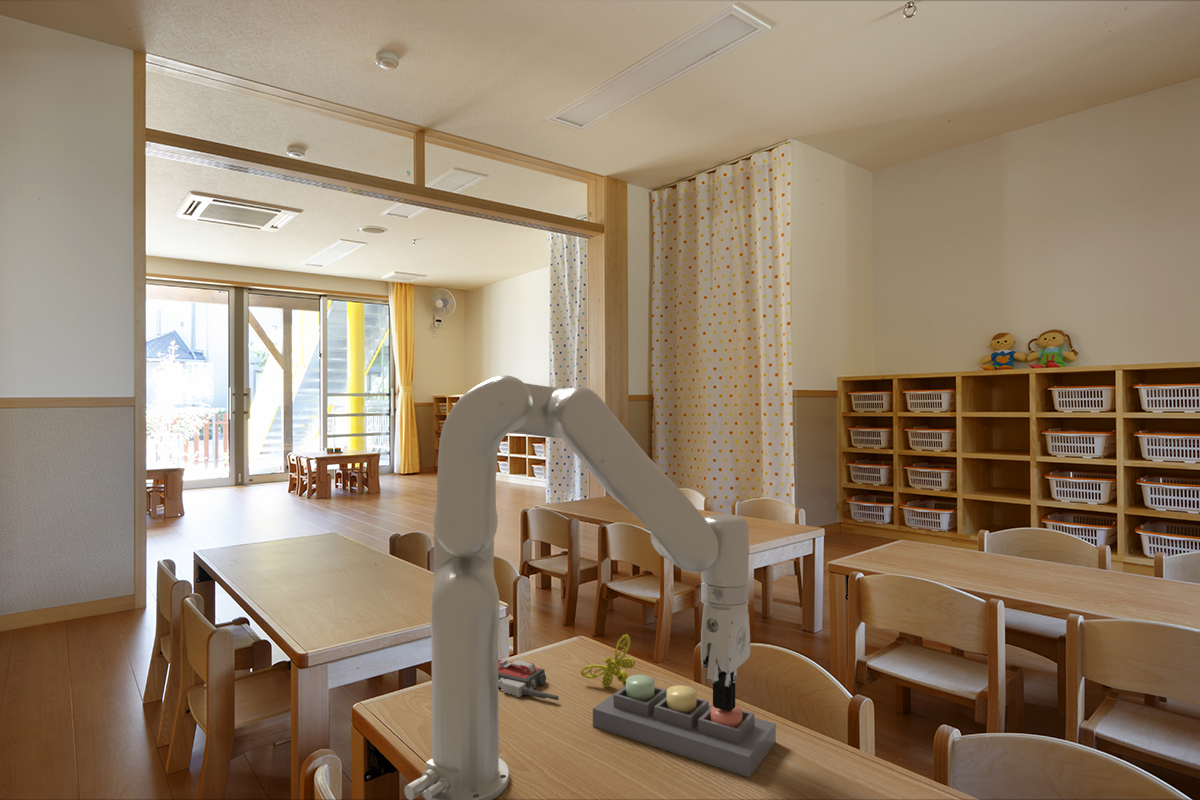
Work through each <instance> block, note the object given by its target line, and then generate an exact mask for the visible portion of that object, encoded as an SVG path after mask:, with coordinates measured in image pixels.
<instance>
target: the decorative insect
mask: <svg viewBox="0 0 1200 800" xmlns="http://www.w3.org/2000/svg"><path fill="white" fill-rule="evenodd" d="M623 639H624V641H623ZM621 641H623V642H622V643H621ZM625 643H627V645H626V646H625V645H624V644H625ZM630 645H631V637H630V636H629V634H623V635H622V636H621V637H620V638H619V639H618V640H617V644H616V645H615V650H614V659H612V657H611V656H608V657H606V658H605V659H604V663H605V664H606V665H603V664H594V663H593V664H589V665H586V666H584V667H583V668H582V669H581V670H580V675H581V676H582V678H586V679H596V678H598V677H600V676H602V675H603V677H602V681H601V683H602V687H605V688H607V689H608V688H609V687H611V685H612V683H613V678H614V676H615V677H616V679H617V681H618V682H619V683H620V682H621V683H622V685H623V687H624V686H626V679H627V678H628V677H630V676H631V675H628V673H627V671H626V670H628V669H633V668H635V665H636V661H635V660H634V658H631V657H625V656H626V655H627V653H628V651H629V649H630ZM619 647H622V648H623V649H621V650H619V652H618V649H619ZM621 653H623V654H622V655H621ZM620 655H621V656H620ZM619 656H620V657H619ZM593 669H596V670H595V671H594V673H592V670H593ZM621 669H622V670H621ZM625 669H626V670H625ZM585 671H586V672H585ZM600 671H601V672H600ZM598 672H600V673H598ZM588 674H590V675H588Z"/></svg>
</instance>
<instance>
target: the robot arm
mask: <svg viewBox="0 0 1200 800" xmlns="http://www.w3.org/2000/svg"><path fill="white" fill-rule="evenodd" d="M509 433H513V434H521V435H526V436H527V435H528V436H536V437H542V438H543V437H544V438H556V439H562V440H563V441H564V442H565V444H567V446H568V447H569V448H570V450H571V451H572V452H573V453H574V454H575V456H576V457H577V458H578V459H579V460H580V461H581V463H582V464H583V465H584V466H585V467H586V468H587V470H588V471H589V472H590V474H591V475H592V476H593V477H594V479H596V481H597V482H598V484H599V485H600V486H601V488H603V489H604V491H606V493H608V495H610V496H611V497H612V498H613V499H614V500H615V501H616V502H617V503H619V504H620V505H622V506H623V507H624V508H625V509H627V510H628V511H629V512H630V513H632V515H634V516H635V517H636V518H637V519H638V520H639V521H640V522H641V523H642V524H643V525H644V526H645V527H646V529H648V531H649V532H650V541H651V545H652V547H653V549H654V550H655V551H656V552H657V553H658V554H659V555H660V556H661V557H663V558H664V559H666V560H667V561H669V562H671V563H672V564H673V565H675V566H676V567H678V568H679V569H681V570H683V571H684V572H688V573H692V574H693V573H700V574H701V575H700V602H701V603H702V604H703V607H702V609H703V610H702V617H701V619H702V620H701V630H700V663H701V666H702V668H705V669H707V673H706V674H707V675H706V680H707V681H708V680H709V681H711V684H712V706H714V707H715V708H718V709H722V710H725V711H729V712H731V711H732V710H733V709H734V708H735V705H736V682H737V675H738V674H737V673H738V671H737V669H738V668H739V667H740V666H741V665H743V664H744V663H745V662H746V661H747V660H748V659H749V657H750V656H751V631H750V630H751V629H750V627H751V626H750V613H749V612H750V611H749V606H748V605H749V583H750V582H749V575H750V574H749V573H750V572H749V570H750V569H749V566H750V565H749V562H750V561H749V560H750V559H749V558H750V557H749V553H750V550H749V549H750V542H749V541H750V528H749V523H748V521H747V520H746V518H744V517H741V516H740V515H735V514H726V513H725V514H723V513H720V514H710V515H702V514H701V513H700V512H699V510H698V509H697V508H696V506H695V505H694V504H693V503H692V502H691V500H690V499H689V498H688V497H687V495H685V493H684V492H683V491H682V490H681V489H680V488H679V487H678V486H677V485H676V484H675V483H674V482H673V481H672V480H671V478H669V477H668V475H666V474H665V473H664V472H663V470H662V469H661V468H660V467H659V466H658V465H657V463H656V462H654V461H653V460H652V459H651V458H650V457H649V456H648V454H647V453H646V452H645V451H644V450H643V449H642V448H641V446H640V445H639V444H638V442H637V441H636V440H635V439H634V438H633V436H632V435H631V434H630V433H629V432H628V430H627V429H626V428H625V426H624V425H623V424H622V423H621V422H620V420H619V419H618V418H617V416H616V415H615V414H614V413H613V412H612V410H611V409H610V407H608V405H607V404H606V402H605V401H604V400H603V399H602V398H601V397H600V396H599V395H598V394H597V393H596V392H595V391H593V390H592V389H590V388H588V387H584V386H572V387H555V386H546V385H540V384H535V383H534V384H532V383H526V382H523V380H520V379H519V378H518V377H515V376H511V375H504V374H503V375H497V376H493V377H491V378H489V379H487V380H485V381H483V382H481V383H479V384H477V385H476V386H474V387H472V388H471V389H470V390H468V391H467V392H466V393H465V394H463V395H462V396H461V397H460V398H459V399H458V400H457V401H456V402H455V404H454V405H453V406H452V408H451V409H450V411H449V412H448V414H447V416H446V418H445V420H444V423H443V426H442V429H441V431H440V436H439V442H438V443H439V444H438V457H437V475H436V476H437V477H436V505H435V509H434V514H433V530H434V531H433V533H434V534H433V538H434V539H433V584H432V585H433V586H432V590H431V591H432V592H431V599H430V600H431V602H430V632H431V633H430V634H431V635H430V636H431V637H430V638H431V641H430V642H431V716H432V717H431V743H432V744H431V758H430V759H429V760H427V761H426V762H425V763H426V765H425V766H426V770H425V771H423V773H422V774H421V777H419V778H417V779H415V780H413V781H411V782H410V783H408V784H406V785H405V787H404V796H405V797H406V798H407V800H414V799H416V798H417V797H418V796H420V795H422V797H423V798H424V800H494V799H496V798H497V797H498V796H500V795H501V794H502V793H503V792H504V791H505V790H506V788H507V787H508V785H509V782H510V769H509V768H510V767H509V766H508V764H507V763H506V761H504V760H503V759H502V758H500V756H499V752H500V751H499V745H500V744H499V739H500V738H499V732H500V730H499V687H498V660H499V635H500V634H499V631H500V614H501V611H500V596H499V595H500V594H499V590H498V589H499V588H498V586H497V582H496V581H497V580H496V578H495V566H494V565H495V564H494V563H495V561H494V559H495V550H494V549H495V537H496V533H497V530H498V521H499V519H498V513H497V498H496V497H497V490H496V489H497V469H498V468H497V467H498V451H499V448H500V445H501V443H502V441H503V440H504V438H505V437H506V436H507V435H508V434H509ZM423 794H424V795H423Z"/></svg>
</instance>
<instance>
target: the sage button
mask: <svg viewBox="0 0 1200 800" xmlns="http://www.w3.org/2000/svg"><path fill="white" fill-rule="evenodd" d="M629 676H630V677H628V678H627V679H626V697H629V698H632V699H636V700H639V701H643V702H645V701H649V700H650V699H652V698H653V697H654V696H655V687H656V686H655V684H656V683H655V679H654V678H653V677H651V676H649V675H645V674H633V675H629Z"/></svg>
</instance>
